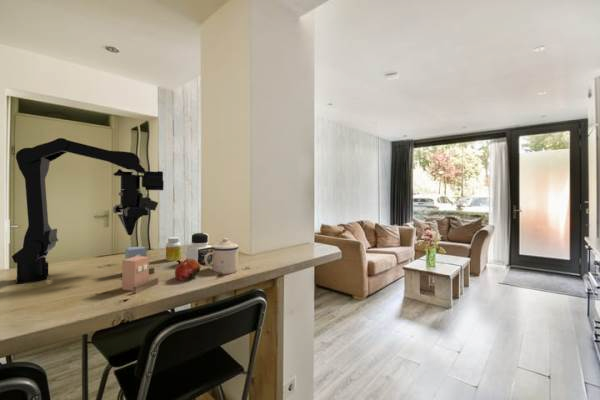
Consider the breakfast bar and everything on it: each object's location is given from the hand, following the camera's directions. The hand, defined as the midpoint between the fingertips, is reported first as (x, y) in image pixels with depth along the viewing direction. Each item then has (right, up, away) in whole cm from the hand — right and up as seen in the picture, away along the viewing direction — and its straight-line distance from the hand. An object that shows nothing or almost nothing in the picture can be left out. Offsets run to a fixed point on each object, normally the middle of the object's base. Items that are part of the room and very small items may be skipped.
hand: (129, 235), depth 95 cm
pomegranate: (+24, -14, -9) cm, 29 cm away
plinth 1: (+11, -13, -18) cm, 25 cm away
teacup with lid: (+31, -13, +2) cm, 34 cm away
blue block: (+5, -12, -5) cm, 13 cm away
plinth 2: (+4, -13, -4) cm, 14 cm away
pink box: (+13, -12, -18) cm, 26 cm away
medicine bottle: (+20, -13, +11) cm, 26 cm away
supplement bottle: (+9, -13, +14) cm, 21 cm away
